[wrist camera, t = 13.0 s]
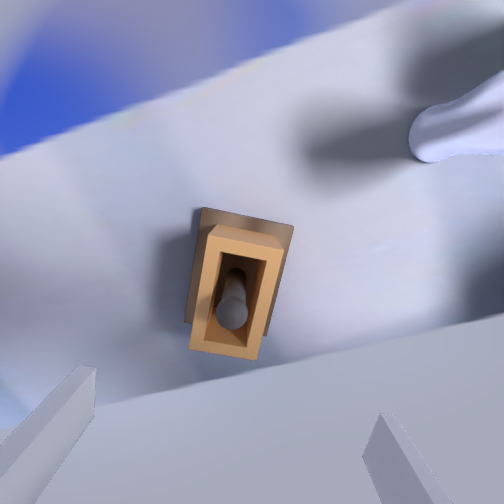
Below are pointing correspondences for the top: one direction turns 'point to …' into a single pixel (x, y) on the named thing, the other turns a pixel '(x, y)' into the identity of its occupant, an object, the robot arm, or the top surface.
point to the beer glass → (462, 125)
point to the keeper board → (233, 258)
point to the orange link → (250, 333)
